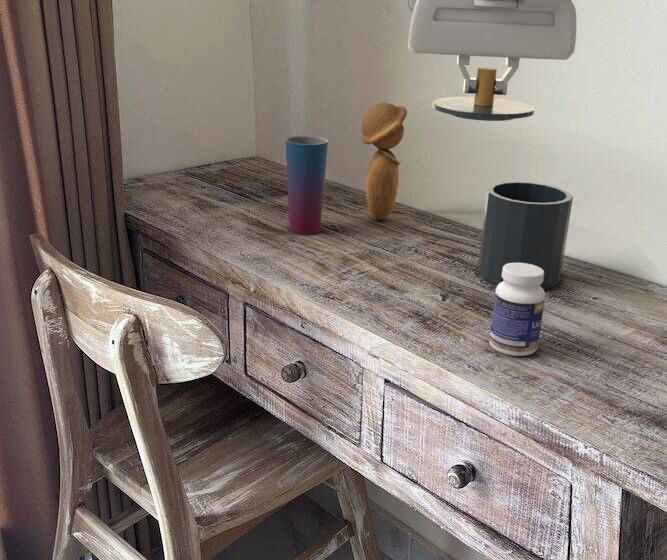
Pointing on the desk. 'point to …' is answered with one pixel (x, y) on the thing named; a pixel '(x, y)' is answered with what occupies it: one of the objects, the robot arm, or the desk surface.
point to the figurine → (383, 156)
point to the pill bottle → (518, 310)
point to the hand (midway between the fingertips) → (484, 93)
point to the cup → (305, 182)
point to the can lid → (484, 102)
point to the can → (524, 229)
